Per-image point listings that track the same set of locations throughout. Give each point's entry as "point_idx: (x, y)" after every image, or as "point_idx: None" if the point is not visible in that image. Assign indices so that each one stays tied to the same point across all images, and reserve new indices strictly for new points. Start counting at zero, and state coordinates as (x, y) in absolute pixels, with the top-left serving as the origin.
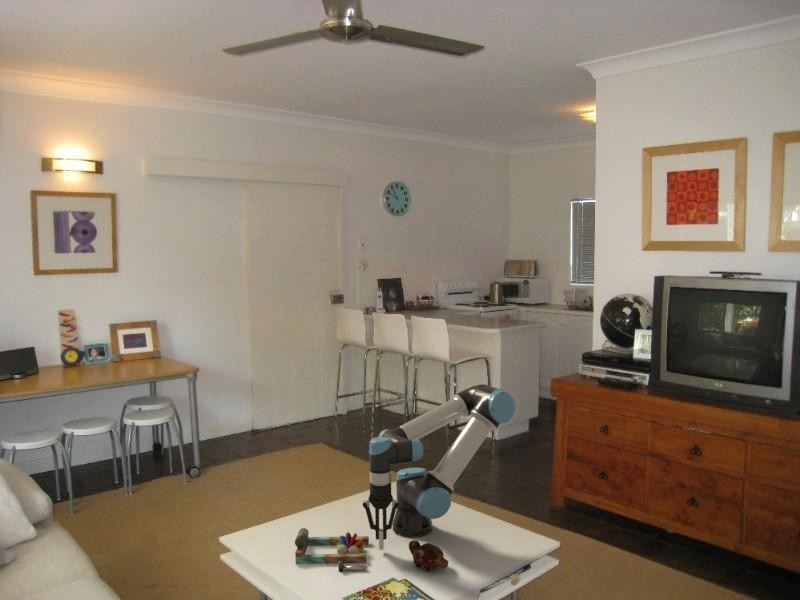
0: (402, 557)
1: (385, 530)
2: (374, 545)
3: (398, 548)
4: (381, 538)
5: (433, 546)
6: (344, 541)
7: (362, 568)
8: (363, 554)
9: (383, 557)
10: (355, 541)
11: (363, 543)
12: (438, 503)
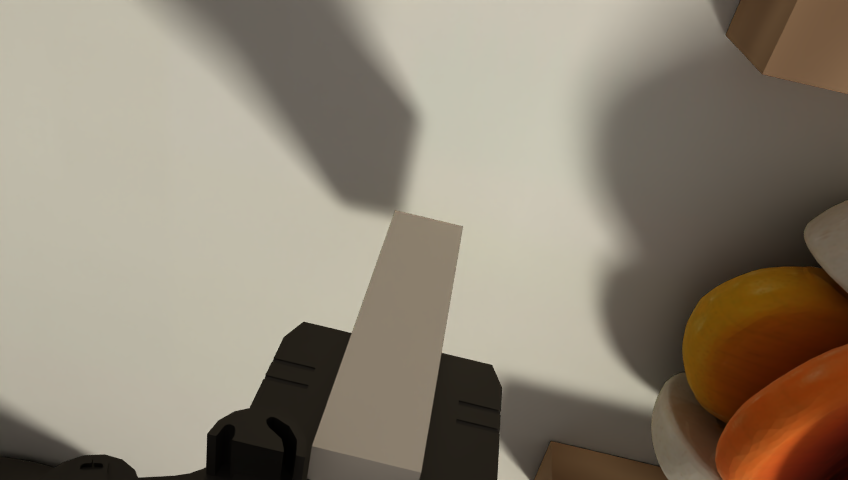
0: (128, 12)
1: (234, 443)
2: None
3: (190, 283)
4: (388, 336)
5: None
6: None
7: None
8: (834, 56)
9: (420, 86)
10: (829, 464)
11: (614, 475)
12: None
